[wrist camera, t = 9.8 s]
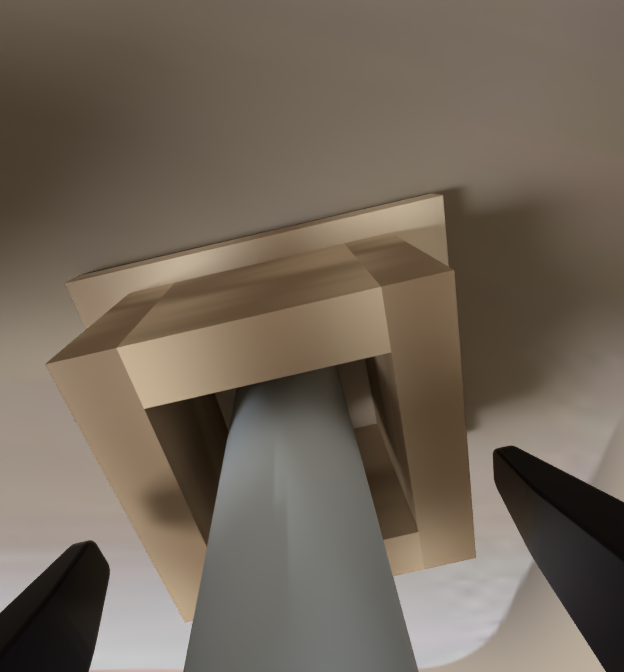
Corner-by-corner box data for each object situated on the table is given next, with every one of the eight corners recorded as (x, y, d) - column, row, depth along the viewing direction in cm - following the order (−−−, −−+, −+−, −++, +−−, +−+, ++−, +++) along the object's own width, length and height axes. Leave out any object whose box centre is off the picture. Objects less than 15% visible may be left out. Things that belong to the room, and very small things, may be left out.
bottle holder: (180, 497, 17) (135, 650, 12) (79, 275, 13) (-60, 351, 8) (453, 435, 17) (536, 562, 12) (431, 193, 13) (540, 212, 8)
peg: (254, 428, 15) (215, 839, 6) (226, 346, 14) (119, 725, 5) (345, 408, 15) (445, 794, 6) (327, 323, 14) (422, 662, 5)
